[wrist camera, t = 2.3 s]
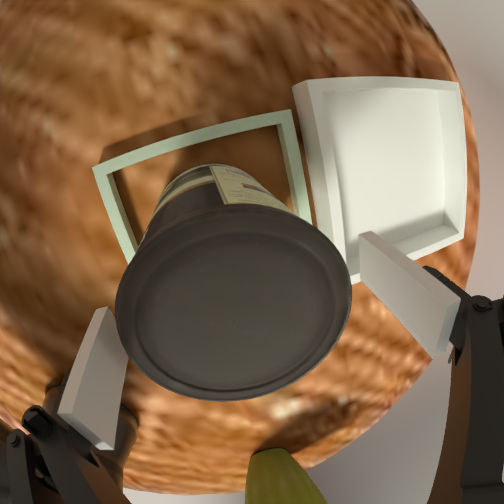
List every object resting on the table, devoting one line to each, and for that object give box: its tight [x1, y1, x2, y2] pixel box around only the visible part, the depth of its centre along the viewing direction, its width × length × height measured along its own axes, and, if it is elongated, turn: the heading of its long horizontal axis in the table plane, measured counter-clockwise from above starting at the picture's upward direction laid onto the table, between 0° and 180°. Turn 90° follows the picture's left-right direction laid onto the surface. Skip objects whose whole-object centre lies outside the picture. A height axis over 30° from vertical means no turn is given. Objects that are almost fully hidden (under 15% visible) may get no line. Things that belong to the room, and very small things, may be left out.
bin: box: [291, 76, 467, 285], centre depth 23 cm, size 18×18×4 cm
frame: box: [92, 109, 312, 265], centre depth 23 cm, size 16×16×2 cm
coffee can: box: [115, 164, 352, 402], centre depth 18 cm, size 10×10×14 cm
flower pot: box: [245, 448, 328, 504], centre depth 37 cm, size 15×15×16 cm
